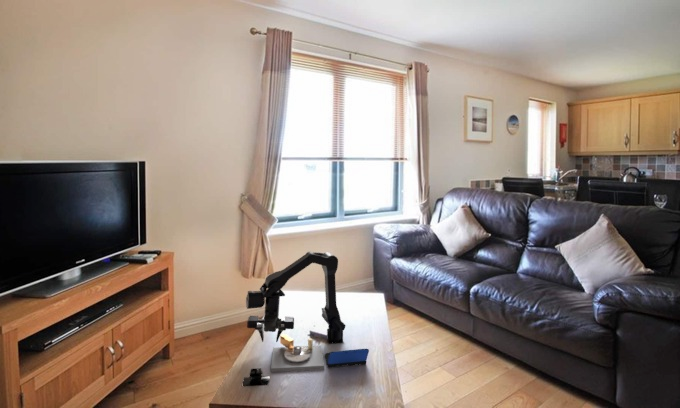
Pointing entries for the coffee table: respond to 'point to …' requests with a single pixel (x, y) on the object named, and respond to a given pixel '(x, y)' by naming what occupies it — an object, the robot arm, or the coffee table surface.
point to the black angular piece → (256, 378)
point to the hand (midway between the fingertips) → (269, 341)
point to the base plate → (311, 364)
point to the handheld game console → (346, 358)
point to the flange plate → (297, 357)
